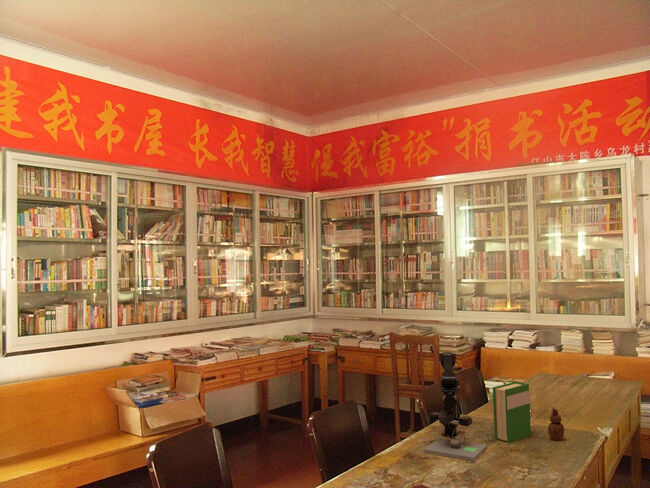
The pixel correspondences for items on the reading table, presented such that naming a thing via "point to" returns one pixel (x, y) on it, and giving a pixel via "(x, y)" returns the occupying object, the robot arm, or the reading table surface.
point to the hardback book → (511, 411)
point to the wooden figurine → (555, 426)
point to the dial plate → (456, 449)
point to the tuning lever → (457, 440)
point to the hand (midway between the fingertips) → (451, 438)
